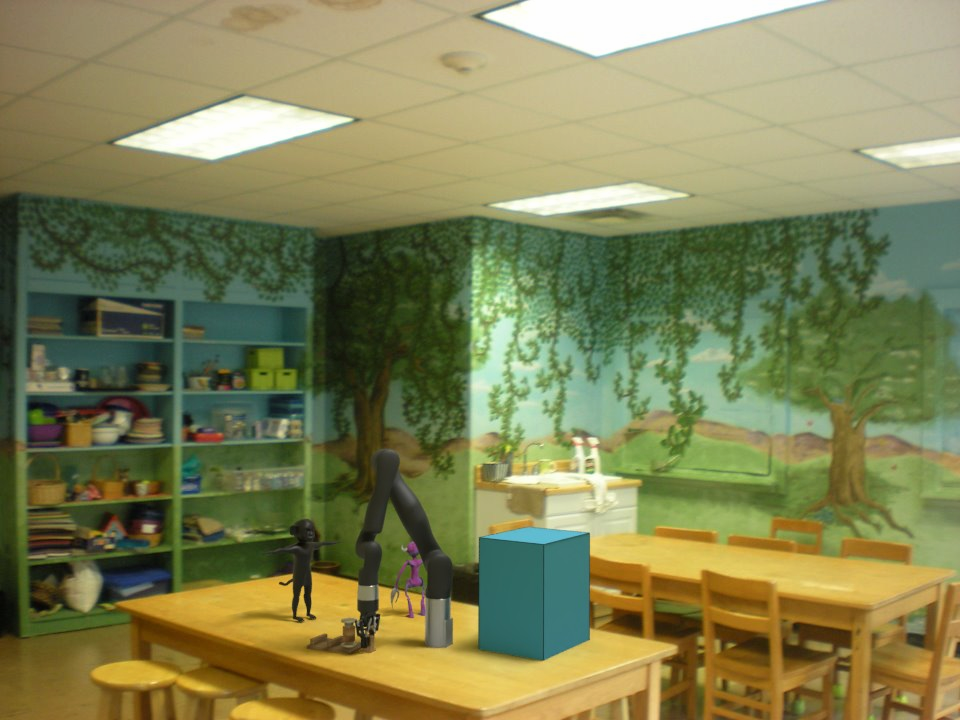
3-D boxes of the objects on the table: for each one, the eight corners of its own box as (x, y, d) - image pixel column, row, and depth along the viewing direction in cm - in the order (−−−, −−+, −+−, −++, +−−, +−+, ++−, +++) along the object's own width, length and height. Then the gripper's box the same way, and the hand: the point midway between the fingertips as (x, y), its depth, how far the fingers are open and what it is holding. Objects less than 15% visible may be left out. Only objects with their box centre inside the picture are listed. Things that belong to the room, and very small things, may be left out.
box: (478, 651, 346) (478, 537, 347) (527, 632, 374) (527, 526, 375) (543, 663, 331) (543, 544, 332) (589, 642, 359) (590, 532, 360)
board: (368, 646, 351) (368, 617, 351) (350, 654, 340) (351, 624, 340) (325, 641, 358) (325, 612, 359) (307, 649, 347) (307, 619, 348)
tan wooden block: (375, 651, 344) (375, 634, 345) (370, 654, 341) (370, 637, 341) (364, 650, 346) (364, 633, 346) (359, 652, 343) (359, 635, 343)
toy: (425, 610, 409) (426, 538, 410) (438, 614, 402) (439, 540, 403) (387, 617, 397) (388, 542, 398) (400, 621, 390) (400, 545, 391)
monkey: (271, 630, 374) (273, 525, 375) (238, 622, 387) (240, 520, 388) (348, 612, 404) (349, 515, 405) (316, 605, 417) (316, 511, 418)
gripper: (366, 602, 336) (366, 652, 336) (387, 594, 349) (387, 642, 349) (348, 600, 339) (347, 650, 339) (369, 592, 352) (368, 640, 352)
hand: (367, 646), depth 344 cm, fingers open, 4 cm apart
